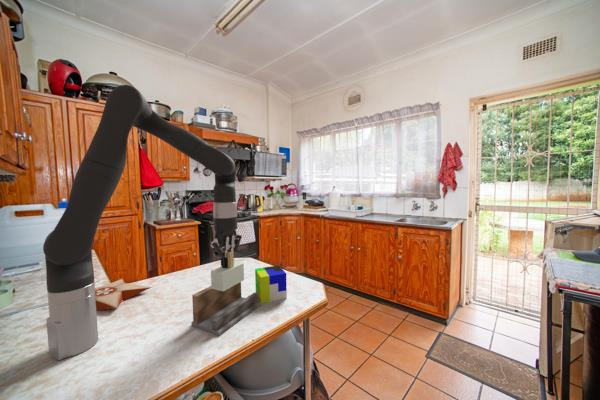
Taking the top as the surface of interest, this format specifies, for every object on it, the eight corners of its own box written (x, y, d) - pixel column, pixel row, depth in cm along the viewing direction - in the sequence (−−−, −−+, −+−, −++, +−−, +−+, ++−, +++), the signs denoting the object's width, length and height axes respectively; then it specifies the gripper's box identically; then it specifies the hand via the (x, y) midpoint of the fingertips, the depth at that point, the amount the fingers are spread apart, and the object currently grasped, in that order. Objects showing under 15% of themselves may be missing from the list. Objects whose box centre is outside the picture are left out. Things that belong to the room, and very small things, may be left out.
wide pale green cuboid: (223, 291, 75) (221, 257, 74) (211, 288, 77) (210, 255, 77) (243, 280, 84) (243, 249, 83) (233, 277, 86) (232, 247, 86)
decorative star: (132, 271, 112) (160, 287, 94) (132, 280, 112) (161, 297, 94) (43, 294, 89) (58, 321, 71) (44, 304, 89) (59, 334, 71)
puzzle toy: (286, 298, 92) (286, 273, 92) (261, 303, 89) (260, 277, 88) (279, 288, 102) (278, 265, 101) (255, 292, 98) (255, 268, 97)
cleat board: (219, 335, 70) (218, 302, 69) (191, 325, 75) (190, 294, 75) (260, 304, 88) (260, 278, 87) (235, 298, 93) (234, 273, 92)
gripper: (218, 219, 72) (220, 275, 73) (247, 213, 84) (248, 262, 85) (200, 217, 75) (202, 271, 76) (231, 212, 87) (232, 259, 88)
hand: (227, 266), depth 81 cm, fingers closed on wide pale green cuboid, 1 cm apart
